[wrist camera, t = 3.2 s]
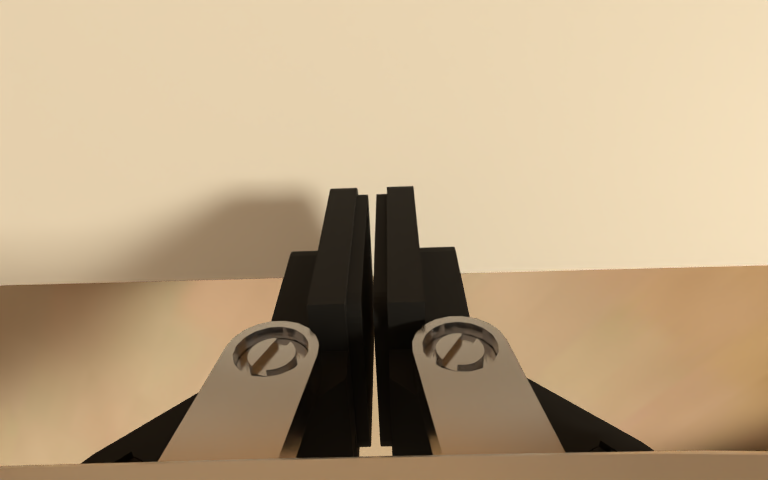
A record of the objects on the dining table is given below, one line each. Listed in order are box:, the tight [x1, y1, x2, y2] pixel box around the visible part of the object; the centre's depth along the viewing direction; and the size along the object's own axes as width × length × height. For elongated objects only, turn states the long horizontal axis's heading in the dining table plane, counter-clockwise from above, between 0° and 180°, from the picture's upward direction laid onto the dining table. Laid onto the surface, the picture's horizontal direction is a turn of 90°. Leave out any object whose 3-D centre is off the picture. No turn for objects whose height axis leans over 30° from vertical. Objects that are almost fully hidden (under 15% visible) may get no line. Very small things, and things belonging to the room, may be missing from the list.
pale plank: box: [0, 0, 768, 285], centre depth 14 cm, size 9×24×2 cm, turn 91°
